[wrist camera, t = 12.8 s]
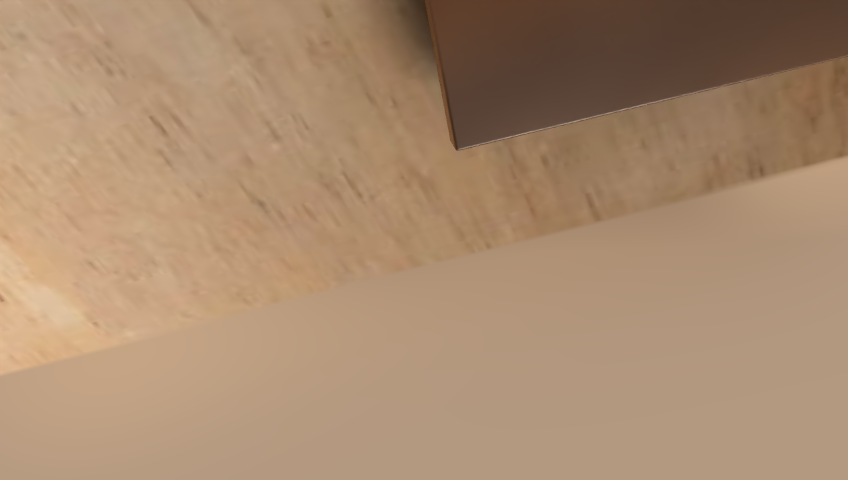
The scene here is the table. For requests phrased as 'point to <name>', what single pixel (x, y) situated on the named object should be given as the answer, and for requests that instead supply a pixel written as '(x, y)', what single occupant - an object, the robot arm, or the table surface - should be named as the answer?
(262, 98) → the table surface
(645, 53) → the board
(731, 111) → the table surface
